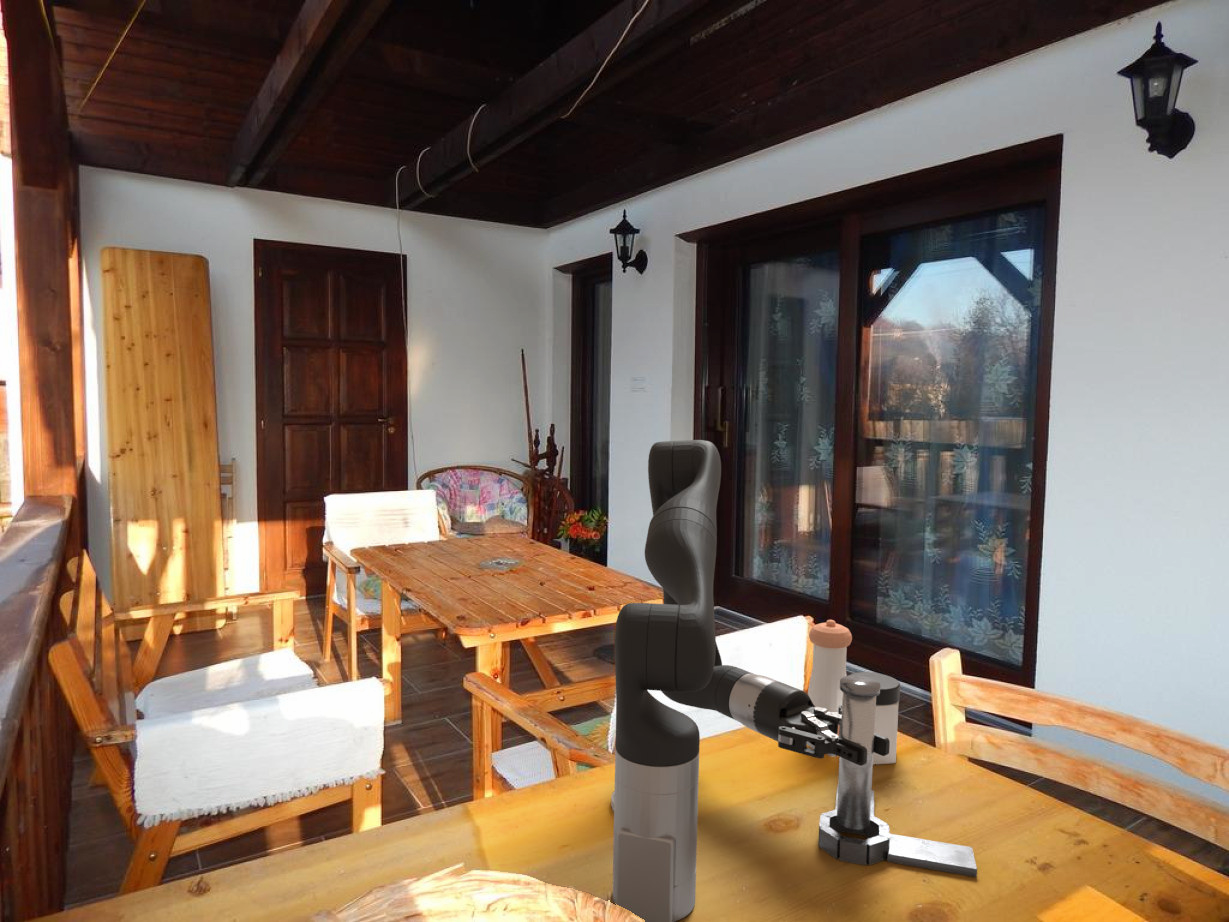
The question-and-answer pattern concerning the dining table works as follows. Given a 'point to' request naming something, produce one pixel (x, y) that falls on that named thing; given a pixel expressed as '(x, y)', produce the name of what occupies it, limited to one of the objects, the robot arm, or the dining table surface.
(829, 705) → the pepper shaker
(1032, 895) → the dining table surface
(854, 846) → the box end wrench
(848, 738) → the pin
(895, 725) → the jar
